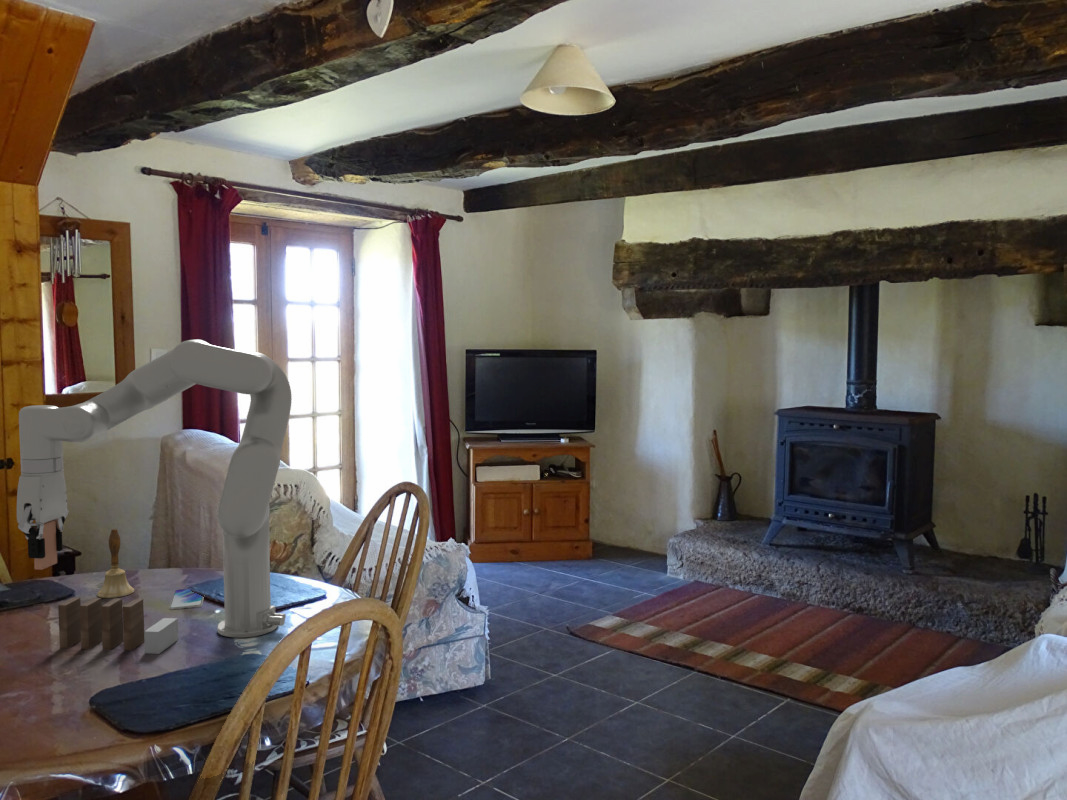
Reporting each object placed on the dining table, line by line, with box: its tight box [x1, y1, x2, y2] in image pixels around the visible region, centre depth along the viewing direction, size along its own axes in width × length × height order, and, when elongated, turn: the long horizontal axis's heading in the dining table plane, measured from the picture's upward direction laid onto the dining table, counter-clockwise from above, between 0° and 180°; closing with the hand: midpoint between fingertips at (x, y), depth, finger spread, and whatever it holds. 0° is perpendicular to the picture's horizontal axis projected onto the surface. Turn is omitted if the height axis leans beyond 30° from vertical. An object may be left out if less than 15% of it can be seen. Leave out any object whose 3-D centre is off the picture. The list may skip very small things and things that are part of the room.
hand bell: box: [96, 528, 135, 599], centre depth 209 cm, size 8×8×16 cm
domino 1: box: [33, 520, 58, 570], centre depth 174 cm, size 2×5×9 cm, turn 177°
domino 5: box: [122, 598, 145, 651], centre depth 175 cm, size 2×5×9 cm, turn 177°
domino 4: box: [101, 597, 124, 651], centre depth 175 cm, size 2×5×9 cm, turn 177°
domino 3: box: [80, 597, 103, 650], centre depth 175 cm, size 2×5×9 cm, turn 177°
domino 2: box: [57, 597, 82, 650], centre depth 175 cm, size 2×5×9 cm, turn 177°
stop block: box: [143, 617, 179, 655], centre depth 174 cm, size 3×8×4 cm, turn 177°
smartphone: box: [168, 587, 205, 611], centre depth 206 cm, size 7×1×15 cm
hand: (45, 553), depth 174 cm, fingers closed on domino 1, 4 cm apart
